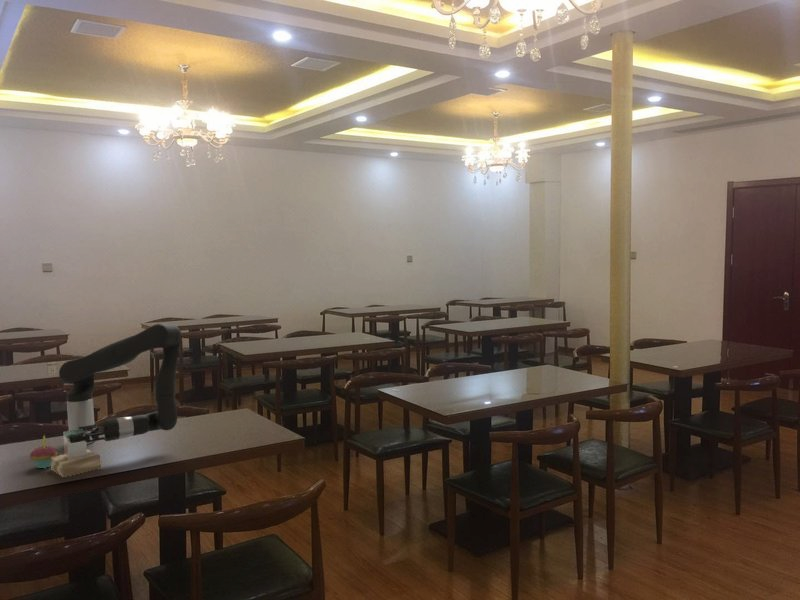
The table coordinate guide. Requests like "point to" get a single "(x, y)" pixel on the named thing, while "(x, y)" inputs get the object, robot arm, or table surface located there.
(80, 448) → the tea tin
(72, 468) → the birch box
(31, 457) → the cupcake
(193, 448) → the table surface
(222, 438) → the table surface
